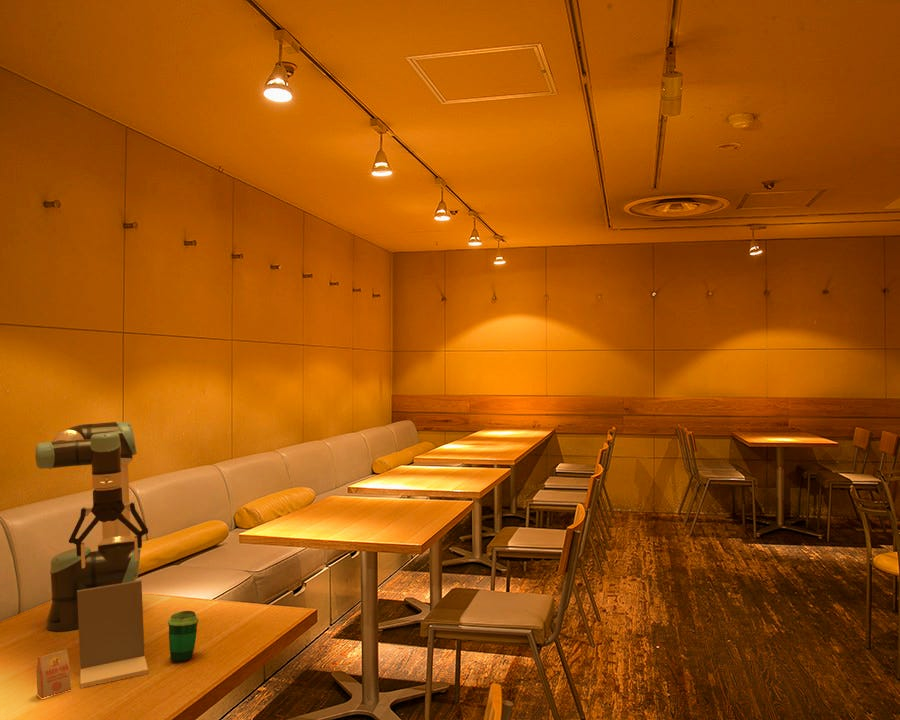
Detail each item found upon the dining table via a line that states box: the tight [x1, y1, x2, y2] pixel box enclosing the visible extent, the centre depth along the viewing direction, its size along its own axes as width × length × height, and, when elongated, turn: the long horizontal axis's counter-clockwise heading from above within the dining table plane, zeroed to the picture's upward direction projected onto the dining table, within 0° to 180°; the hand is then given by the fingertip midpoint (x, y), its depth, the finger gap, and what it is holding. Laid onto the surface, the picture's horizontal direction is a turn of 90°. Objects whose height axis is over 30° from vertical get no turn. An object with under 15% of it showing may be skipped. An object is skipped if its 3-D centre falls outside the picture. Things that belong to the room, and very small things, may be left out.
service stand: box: [77, 580, 149, 689], centre depth 196 cm, size 12×16×22 cm
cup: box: [167, 610, 200, 664], centre depth 204 cm, size 8×8×12 cm
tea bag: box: [35, 649, 72, 698], centre depth 185 cm, size 4×7×10 cm, turn 134°
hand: (110, 563), depth 205 cm, fingers open, 13 cm apart
